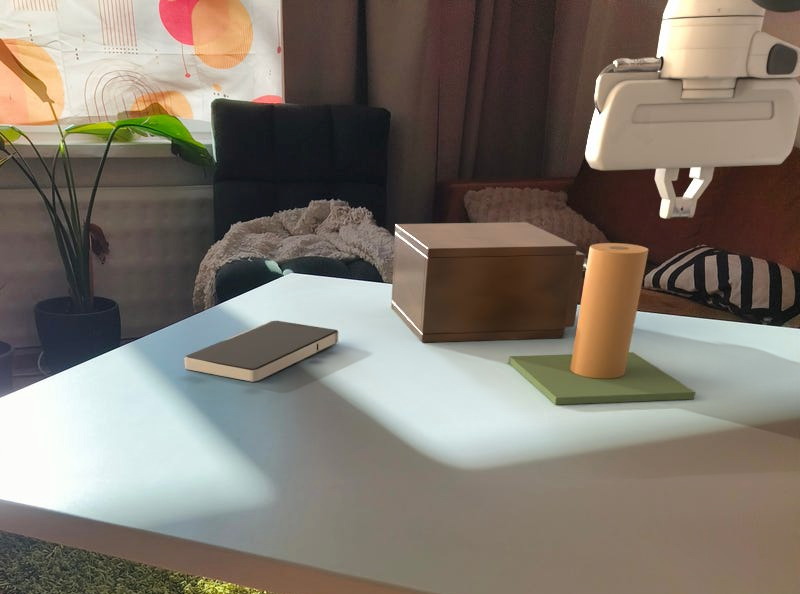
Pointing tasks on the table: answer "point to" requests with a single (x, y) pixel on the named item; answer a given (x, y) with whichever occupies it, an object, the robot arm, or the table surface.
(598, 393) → the mat
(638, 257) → the paper roll
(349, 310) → the table surface
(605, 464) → the table surface
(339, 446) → the table surface
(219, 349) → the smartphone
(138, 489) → the table surface
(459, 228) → the cabinet
